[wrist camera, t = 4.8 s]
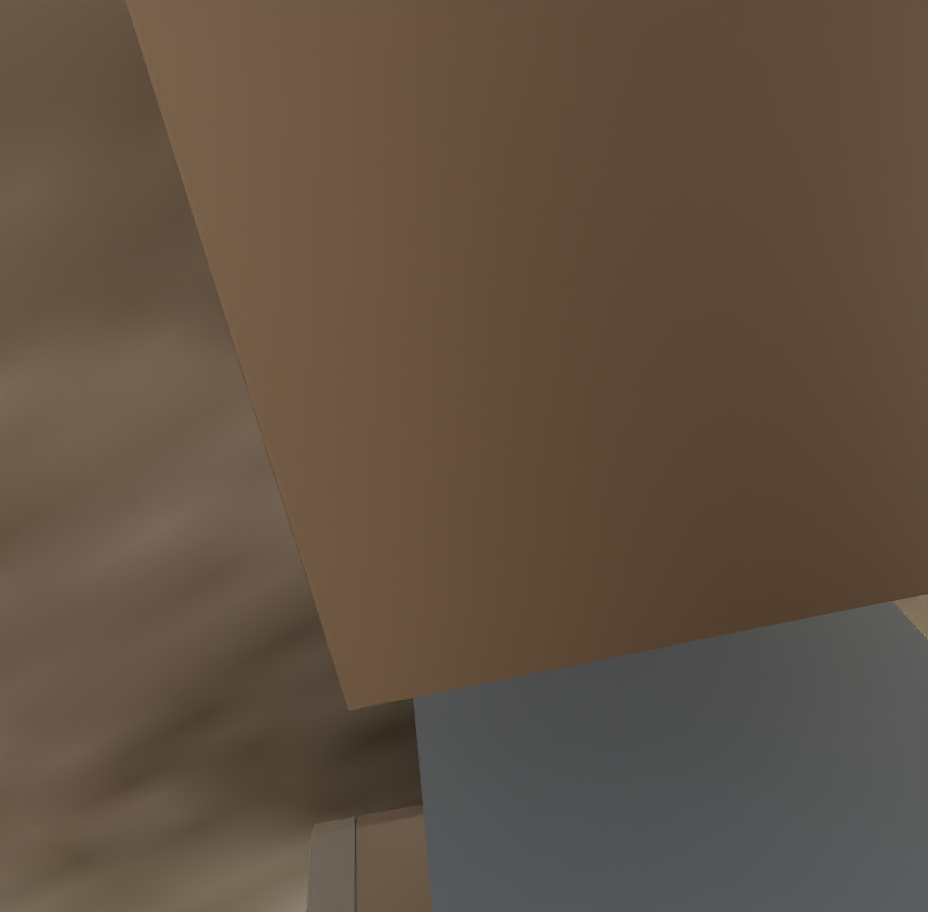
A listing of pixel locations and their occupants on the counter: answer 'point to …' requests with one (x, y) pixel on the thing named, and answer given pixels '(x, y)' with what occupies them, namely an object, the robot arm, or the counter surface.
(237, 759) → the counter surface
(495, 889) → the slate blue cube
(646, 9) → the walnut cube
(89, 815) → the counter surface
